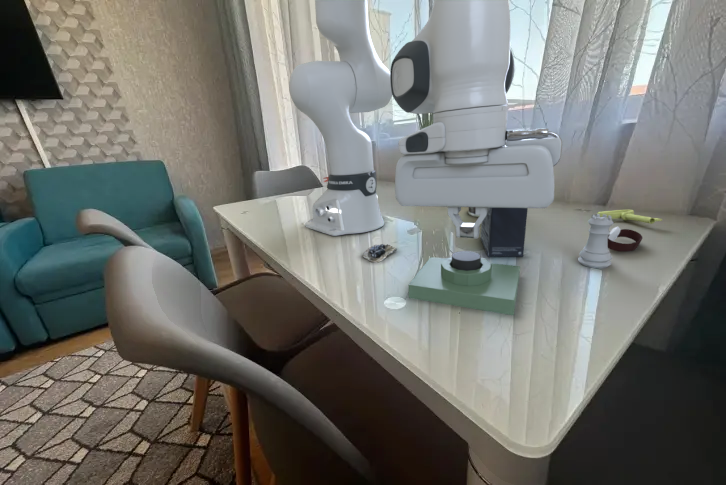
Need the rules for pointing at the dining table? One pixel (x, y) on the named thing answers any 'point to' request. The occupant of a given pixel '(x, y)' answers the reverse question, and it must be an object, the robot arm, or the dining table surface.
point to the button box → (467, 285)
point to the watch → (623, 233)
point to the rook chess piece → (597, 243)
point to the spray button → (466, 260)
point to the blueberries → (378, 252)
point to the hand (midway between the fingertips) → (467, 236)
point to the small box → (504, 231)
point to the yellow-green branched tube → (628, 216)
